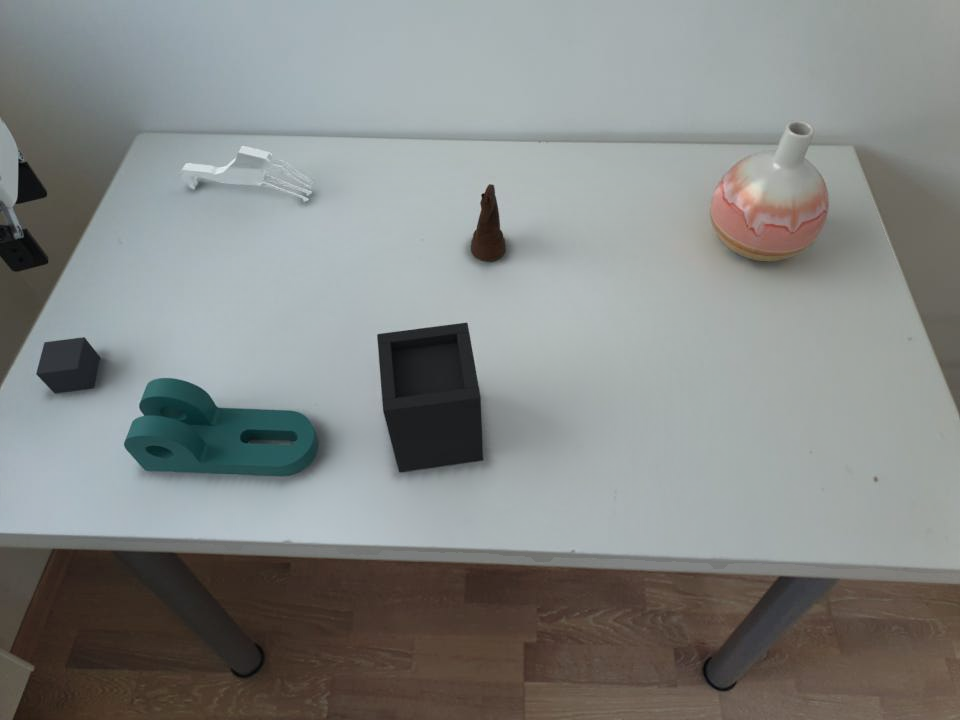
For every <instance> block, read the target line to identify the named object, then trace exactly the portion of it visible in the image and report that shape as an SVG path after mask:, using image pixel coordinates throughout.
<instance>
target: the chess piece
mask: <svg viewBox="0 0 960 720" xmlns="http://www.w3.org/2000/svg"><path fill="white" fill-rule="evenodd" d="M480 196H481V200H480V212H479V216H478V219H477V223H476V224H477V225H476V229H474V232H473V234H472V238H471V240H470V252H471V254H472V255H473V257H474V258H476V259H477V260H478V261H481V262H485V263H487V262H496V261H497V260H498V261H499V260H500V259H501V258H502V257H503V256H504V254H505V253H506V249H507V247H506V246H507V245H506V240H505V237H504V233H503V231H502V229H501V220H500V212H499V205H498V200H497V196H496V188H495V185H494V184H491V183H489V184H488V185H487V187H486V188H485V191H484V192H482V193H481V195H480Z"/></svg>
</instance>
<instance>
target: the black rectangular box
mask: <svg viewBox="0 0 960 720" xmlns="http://www.w3.org/2000/svg"><path fill="white" fill-rule="evenodd" d="M376 336H377V338H376V339H377V350H378V351H377V352H378V362H379V363H378V364H379V375H380V376H379V377H380V389H381V402H382V412H383V416H384V420H385V423H386V428H387V431H388V436H389V439H390V443H391V447H392V451H393V454H394V458H395V462H396V466H397V471H398V473H405V472H412V471H413V472H414V471H419V470H426V469H434V468H439V467H447V466H455V465H463V464H468V463H475V462H482V461H484V447H483V446H484V444H483V443H484V442H483V419H482V400H481V399H482V398H481V397H482V396H481V392H480V386H479V385H480V384H479V380H478V374H477V368H476V363H475V356H474V352H473V345H472V340H471V334H470V330H469V323H468V322H460V323H452V324H444V325H443V324H442V325H437V326H430V327H420V328H413V329H405V330H397V331H390V332H382V333H377V335H376Z"/></svg>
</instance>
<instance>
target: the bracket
mask: <svg viewBox="0 0 960 720" xmlns="http://www.w3.org/2000/svg"><path fill="white" fill-rule="evenodd" d="M138 408H139V411H140V412H141V414H142V416H138V417H136V418H134V420H132V422H131V423H130V427H129V430H128V432H127V435H126V437H125V440H124V441H123V445H124V449H125V450H126V452H128V453H129V455H130V456H131V457H132V458H133V459H134V461H136V462H137V464H138V465H139V466H140V467H141V468H142V469H143V470H144V471H146V472H166V473H167V472H168V473H191V474H195V473H196V474H216V475H238V476H239V475H241V476H242V475H243V476H262V477H263V476H266V477H289V476H292V475H295V474H298V473H300V472H302V471H303V470H305V469H306V468H307V467H308V466H309V465H310V464H311V463H312V462H313V461H314V459H315V457H316V455H317V453H318V450H319V438H318V435H317V433H316V431H315V428H314V426H313V423H312V421H310V419H309V418H308V417H307V415H305V414H304V413H301V412H299V411H295V410H290V409H265V408H263V409H261V408H260V409H259V408H239V407H238V408H237V407H236V408H235V407H233V408H232V407H219V406H217V404H216V402H215V401H214V400H213V399H212V397H211V395H210V394H209V393H208V392H207V391H206V390H205V389H203V388H202V387H200V386H198V385H197V384H194V383H193V382H189V381H186V380H183V379H178V378H174V377H173V378H172V377H160V378H155V379H152V380H150V381H148V382H147V384H146V385H145V388H144V391H143V394H142V396H141V399H140V402H139V404H138ZM255 440H256V441H257V440H258V441H280V442H281V441H283V442H284V441H285V442H293V443H291V444H279V443H277V444H276V443H275V444H273V443H253V442H251V441H255ZM250 442H251V443H250Z"/></svg>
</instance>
